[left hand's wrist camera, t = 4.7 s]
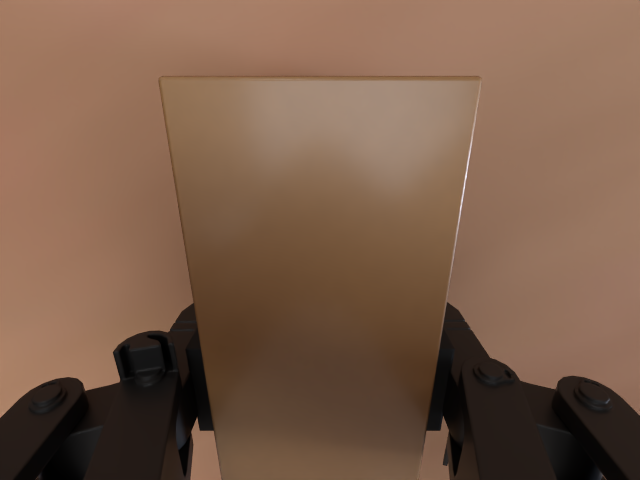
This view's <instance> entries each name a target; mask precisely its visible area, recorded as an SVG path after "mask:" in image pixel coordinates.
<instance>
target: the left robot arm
mask: <svg viewBox="0 0 640 480" xmlns="http://www.w3.org/2000/svg"><path fill="white" fill-rule="evenodd" d="M113 355H114V358H115V362H116V365H117V369H118V373H119V376H120V382H119V383H116V384H112V385H109V386H104V387H100V388H96V389H91V390H87V391H85V389H84V386H83V383H82V382H81V381H80V380H78V379H76V378H70V377H66V378H59V379H55V380H52V381H49V382H46V383H43V384H41V385H39V386H38V387H36V388H34V389H32V390H30V391H29V392H28V393H26V394H25V395H24V396H23V397H21V398H20V399H19V400H18V401H17V402H16V403H15V404H14V405H13V406H12V407H11V408H10V409H9V410H8V411H7V412H6V413H5V414H4V415H3V416H2V417H1V418H0V480H190V476H191V465H192V454H193V439H192V434H191V431H192V428H193V426H194V423H195V421H196V418H197V417H198V423H199V428H200V431H214V428H213V421H212V415H211V409H210V403H209V396H208V390H207V384H206V377H205V371H204V365H203V358H202V352H201V346H200V339H199V333H198V327H197V321H196V314H195V308H194V303H193V304H191V305H190V306H189V307H187V308H186V309H185V310H183V311H182V312H181V314H180V315H179V317H178V318H177V320H176V323H174V324H173V326H172V327H171V329H170V331H169V332H168V333H167V332H163V331H147V332H143V333H139V334H136V335H134V336H132V337H130V338H128V339H126V340H125V341H123V342H122V343H121V344H119V345H118V346H117V348H116V349H115V350H114V352H113ZM443 416H444V418H445V421H446V423H447V426H448V429H449V434H448V439H447V444H446V449H445V454H444V460H443V465H446V466H447V464H449V475H450V480H640V416H639V415H638V414H637V413H636V412H635V411H634V410H633V409H632V408H631V407H630V406H629V405H628V404H627V403H626V402H625V401H624V400H623V399H622V398H621V397H620V396H619V395H618V394H616V393H615V392H614V391H613V390H611V389H610V388H608V387H606V386H604V385H602V384H600V383H599V382H596V381H593V380H590V379H587V378H584V377H577V376H568V377H563V378H562V379H561V380H560V381H558V384H557V387H556V390H555V389H551V388H546V387H542V386H538V385H533V384H529V383H526V382H522V381H520V380H519V378H518V377H517V375H516V373H515V372H514V371H513V370H512V369H510V368H509V367H508V366H507V365H505V364H503V363H501V362H499V361H497V360H495V359H491V358H490V357H489V355H488V354H487V352H486V351H485V350H484V348H483V347H482V345H481V344H480V342H479V341H478V339H477V338H476V336H475V335H474V333H473V332H472V330H470V327H469V326H468V324H467V323H466V322H465V320H464V318H463V317H462V315H461V314H460V312H459V311H458V310H457V309H456V308H454V307H453V306H452V305H450V304H449V303H448V302H447V304H446V310H445V316H444V323H443V329H442V335H441V341H440V348H439V354H438V360H437V366H436V373H435V379H434V385H433V392H432V398H431V404H430V410H429V417H428V423H427V429H426V431H440V430H441V424H442V418H443ZM603 476H604V477H605V478H606V479H605V478H604V477H603ZM37 477H38V478H37ZM36 478H37V479H36Z"/></svg>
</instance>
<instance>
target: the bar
mask: <svg viewBox="0 0 640 480" xmlns="http://www.w3.org/2000/svg"><path fill="white" fill-rule="evenodd" d="M481 84H482V78H481V77H479V76H162V77H160V78H159V87H160V93H161V100H162V106H163V112H164V119H165V125H166V131H167V138H168V144H169V150H170V156H171V163H172V169H173V175H174V182H175V188H176V194H177V201H178V207H179V213H180V220H181V226H182V232H183V239H184V245H185V251H186V257H187V264H188V270H189V276H190V283H191V289H192V295H193V302H194V308H195V314H196V321H197V327H198V333H199V339H200V346H201V352H202V358H203V365H204V371H205V377H206V384H207V390H208V396H209V403H210V409H211V415H212V421H213V428H214V434H215V440H216V447H217V453H218V459H219V466H220V472H221V478H222V480H419V473H420V467H421V461H422V454H423V448H424V442H425V436H426V429H427V423H428V417H429V410H430V404H431V398H432V392H433V385H434V379H435V373H436V366H437V360H438V354H439V348H440V341H441V335H442V329H443V323H444V316H445V310H446V304H447V297H448V291H449V285H450V279H451V272H452V266H453V260H454V253H455V247H456V241H457V235H458V228H459V222H460V216H461V209H462V203H463V197H464V191H465V184H466V178H467V172H468V165H469V159H470V153H471V147H472V140H473V134H474V128H475V121H476V115H477V109H478V103H479V96H480V90H481Z"/></svg>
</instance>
